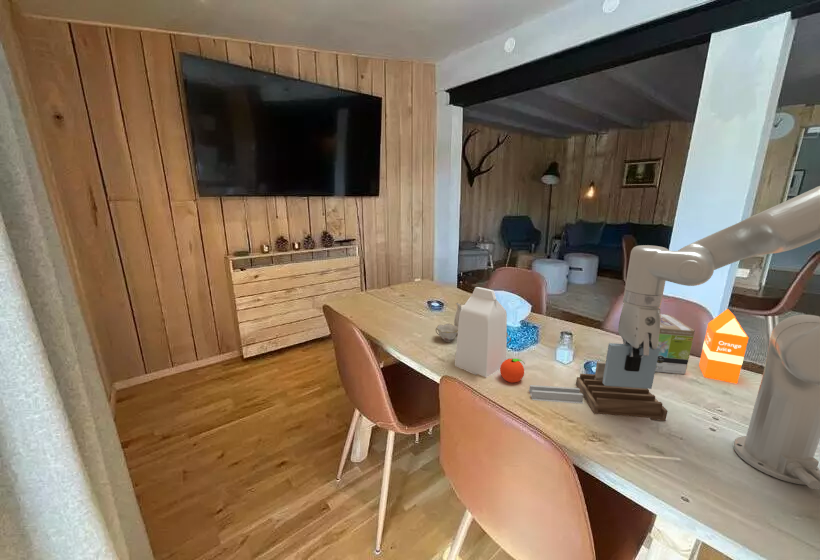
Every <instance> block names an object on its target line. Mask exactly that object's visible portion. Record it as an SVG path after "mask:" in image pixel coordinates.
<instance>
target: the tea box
mask: <svg viewBox="0 0 820 560" xmlns="http://www.w3.org/2000/svg"><path fill="white" fill-rule="evenodd" d="M694 336H695V330H694V329H693V328H691V327H690V326H688V325H687V324H685V323H683V321H681V320H679V319H677V318H676V317H674V316H673V315H670V314H662V313H661V322H660V333H659V340H658V346H657V347H659V348H660V350H659V355H658V359H657V364H656V369H655V373H656V372H657V373H666V374H677V375H685V374H686V373H687V368H688V363H689V359H690V355H691V354H690V353H691V350H692V347H693V341H694Z"/></svg>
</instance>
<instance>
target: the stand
mask: <svg viewBox="0 0 820 560" xmlns="http://www.w3.org/2000/svg"><path fill="white" fill-rule="evenodd" d="M528 392H529V394H530V397H531V400H532V401H539V402H552V403H553V402H555V403H568V404H581V405H584V402H583V400H584V396H583V394H582V393H581V391H580V389H579V388H578V387H566V386H565V387H563V386H553V385H552V386H551V385H535V384H530V385H529V389H528Z"/></svg>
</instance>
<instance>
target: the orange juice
mask: <svg viewBox="0 0 820 560" xmlns="http://www.w3.org/2000/svg"><path fill="white" fill-rule="evenodd" d="M748 343H749V336H748V335H747V333H746V332H745V330H744V329H743V328H742V326H741V324H740V322H739V321H738V320H737V318H736V316H735V315H734V313H732V312H731V310H730V309H729V308H726V309H725V310H724V311H723V312H721V313H720V314H718V315H717V316H715V318H713V319H711V320H710V321H709V322H708V323H707V327H706V331H705V337H704V340H703V345H702V350H701V354H700V359H699V363H698V364H699V365H698V366H699V368H700V371H701V373H702V376H703V377H704V378H707V379H710V380H711V379H712V380H715V381H722V382H727V383H732V384H738V381H739V378H740V373H741V369H742V365H743V362H744V360H745V359H744V358H745V353H746V350H747V345H748Z"/></svg>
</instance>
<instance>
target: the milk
mask: <svg viewBox="0 0 820 560" xmlns="http://www.w3.org/2000/svg"><path fill="white" fill-rule="evenodd" d="M461 308H462V309H461V311H460V314H459V325H458V332H457V335H456V337H457V338H456V346H455V347H456V349H455V350H456V351H455V360H454V367H456V368H458V369H461V370H463V369H464V371H465V370H466V371H465V372H468V373H471V374H472V375H475V376H478V375H479V376H481V377H484V378H488V377H489V376H491V375H494V374H495V373H496V372H497V371H500V367H501V364H502V363H503V362H504V361H505V360H507V342H508V340H507V338H508V336H507V333H508V332H507V331H508V330H507V329H508V328H507V324H508V322H507V321H508V320H507V319H508V317H507V316H508V315H507V314H508V313H507V310H506V309H505V308H504V306H503V305H502V304H501V303H500V302H499V301H498V300H497V297H496V293H495V291H494V289H489V288H485V287H481V286H480V287H479V286H476V287H474V289H473V292H472V294H471V295H470V297H469V298H468V300H466V302H465V303H464V305H463V306H462V307H461Z"/></svg>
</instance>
